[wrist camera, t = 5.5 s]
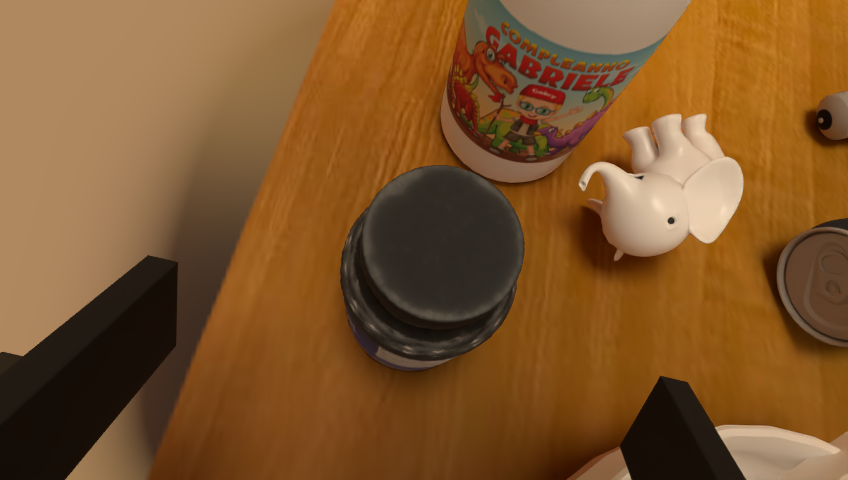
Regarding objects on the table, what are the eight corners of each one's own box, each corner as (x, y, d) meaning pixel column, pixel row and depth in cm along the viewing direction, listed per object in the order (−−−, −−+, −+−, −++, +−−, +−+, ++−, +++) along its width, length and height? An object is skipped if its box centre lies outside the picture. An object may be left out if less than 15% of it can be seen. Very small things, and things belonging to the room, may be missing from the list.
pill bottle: (354, 243, 25) (348, 128, 15) (473, 254, 26) (549, 151, 15) (339, 368, 23) (320, 339, 13) (469, 378, 24) (553, 358, 13)
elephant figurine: (646, 86, 18) (695, 257, 17) (770, 93, 25) (807, 214, 25) (504, 155, 24) (538, 284, 23) (637, 144, 31) (665, 242, 30)
